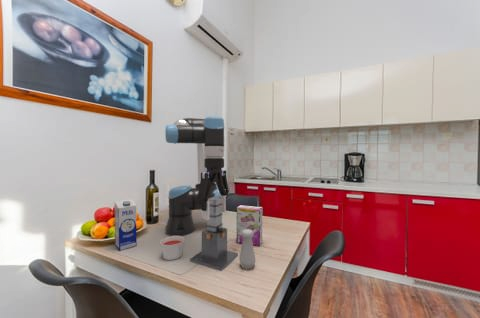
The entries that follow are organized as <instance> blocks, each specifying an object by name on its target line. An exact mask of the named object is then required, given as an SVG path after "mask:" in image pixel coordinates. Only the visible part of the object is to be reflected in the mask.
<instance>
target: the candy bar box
mask: <svg viewBox="0 0 480 318" xmlns="http://www.w3.org/2000/svg"><path fill="white" fill-rule="evenodd" d="M245 229H250V230H252V231H253V237H252V243H253V246H256V247H260V246H261V245H262V243H263V207H262V206H252V205H251V206H250V205H244V204H243V205H242V204H240V205H239V206H237V207H236V244H242V241H243V237H242V234H241V233H242V231H243V230H245Z"/></svg>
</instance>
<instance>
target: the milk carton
mask: <svg viewBox="0 0 480 318" xmlns="http://www.w3.org/2000/svg"><path fill="white" fill-rule="evenodd" d="M137 236H138V235H137V204H136V202H135V201H134V199H132V198H129V199H123V200H122V199H121V200H114V246H115V247H116V249H117V250H118V251H119V252H121V251H124V250H128V249H131V248H135V247H137V243H138V242H137V240H138V239H137Z"/></svg>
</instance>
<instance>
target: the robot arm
mask: <svg viewBox="0 0 480 318" xmlns="http://www.w3.org/2000/svg"><path fill="white" fill-rule="evenodd" d="M164 133H165V142H167V143H168V144H196V153H197V155H196V156H197V157H196V158H197V182H196V183H195V187H193V186H192V185H191V184H190V185H180V186H176V187H172V188H171V189H170V190H168V218H167V222H166V226H165V228H164V229H165V230H164V231H165V232H164V233H165V234H166V235H169V236H186V235H189V234H192V233H193V232H194V231H195V230H196V224H195V222H194V219H193V214H192V211H199V210H200V211H201V219H202V220H206V221H207V220H209V201H208V199H209V198H212V197H217V198H222V213H225V212H226V210H227V206H226V202H227V201H226V200H227V199H226V196H229V192H230V190H229V189H230V188H229V185H228V184H229V183H228V178H227V170H223V168H224V167H225V158H223V157H225V119H224V118H223V117H220V116H215V115H214V116H212V115H211V116H207V117H205V118H195V117H192V118H191V117H185V118H180V119H178V120H176V121H175V122H174V123H173V124H166V125H165V131H164Z"/></svg>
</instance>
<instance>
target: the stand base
mask: <svg viewBox="0 0 480 318" xmlns="http://www.w3.org/2000/svg"><path fill="white" fill-rule="evenodd" d="M238 256H239V253H238V252H234V251H230V250H228V228H226V227H223V226H222V227H221V228H220V229H219V232H218V233H217V234H216V233H211V232H207V228H206V229H204V230H202V231H201V250H200V251H199V252H198V253H197V254H194V256H192V257H190V258H189V259H190V260H189V261H190V262H192V263H195V264H198V265H200V266H204V267H207V268H211V269H214V270H217V271H220V272H223V271H224V270H225V268H227V267H228V266H229V265H230V264H231V263H232V262H233V261H234V260H235V259H236V258H237V257H238Z"/></svg>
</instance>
